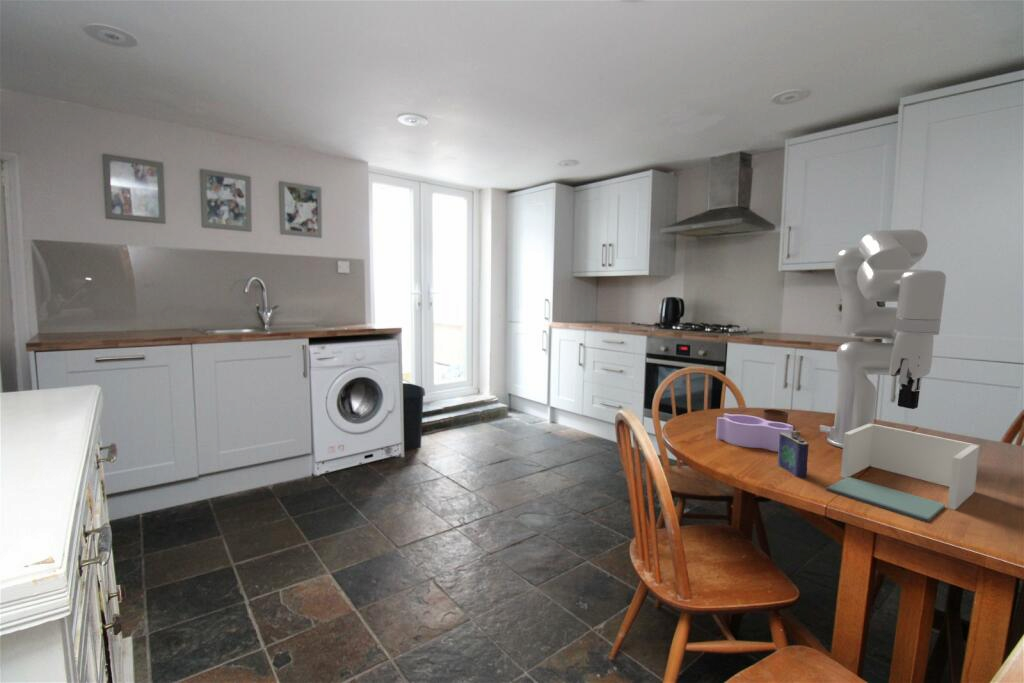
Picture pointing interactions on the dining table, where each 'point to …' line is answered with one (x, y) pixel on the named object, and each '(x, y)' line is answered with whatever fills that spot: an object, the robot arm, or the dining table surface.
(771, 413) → the cup and saucer
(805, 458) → the flask
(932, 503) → the panel
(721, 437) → the purple cup holder
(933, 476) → the teal front storage box
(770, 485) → the dining table surface
